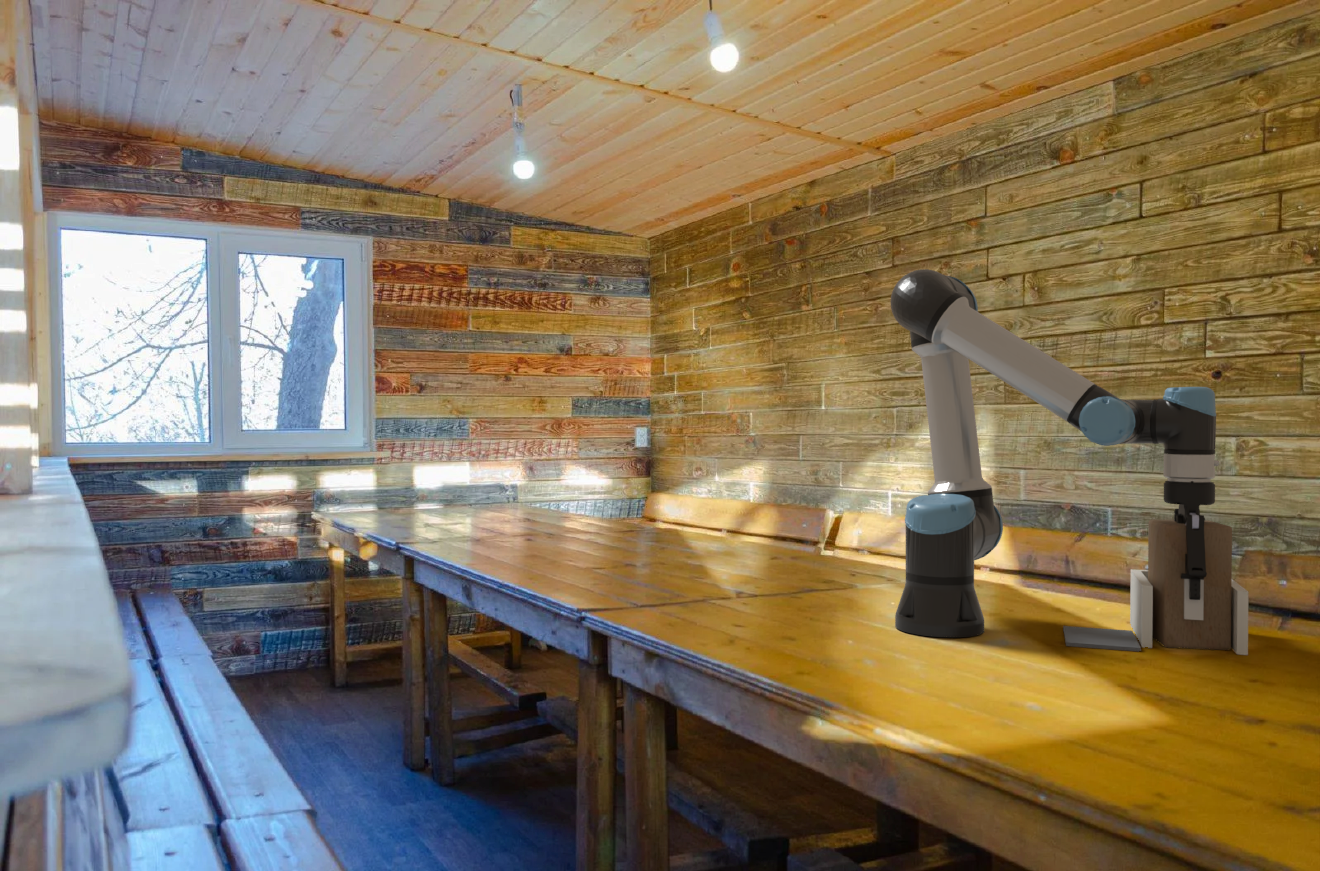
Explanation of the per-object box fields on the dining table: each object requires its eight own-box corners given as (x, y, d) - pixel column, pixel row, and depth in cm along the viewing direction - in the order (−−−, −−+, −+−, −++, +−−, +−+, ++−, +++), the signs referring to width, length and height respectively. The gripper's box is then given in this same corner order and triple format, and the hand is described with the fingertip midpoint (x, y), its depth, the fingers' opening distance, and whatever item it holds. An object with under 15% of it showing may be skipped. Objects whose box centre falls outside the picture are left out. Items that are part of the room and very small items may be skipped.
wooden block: (1231, 651, 157) (1233, 526, 156) (1164, 647, 159) (1165, 524, 158) (1210, 637, 166) (1211, 520, 166) (1146, 634, 168) (1147, 518, 168)
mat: (1066, 645, 160) (1066, 642, 160) (1063, 629, 173) (1063, 625, 173) (1140, 651, 156) (1140, 647, 156) (1132, 634, 169) (1132, 630, 169)
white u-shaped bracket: (1141, 647, 159) (1142, 585, 159) (1130, 624, 177) (1130, 569, 177) (1247, 655, 154) (1248, 591, 154) (1224, 630, 172) (1225, 574, 172)
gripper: (1228, 484, 150) (1227, 628, 150) (1203, 477, 172) (1202, 602, 172) (1173, 483, 153) (1172, 624, 153) (1155, 476, 174) (1154, 599, 175)
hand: (1188, 613), depth 162 cm, fingers closed on wooden block, 11 cm apart
